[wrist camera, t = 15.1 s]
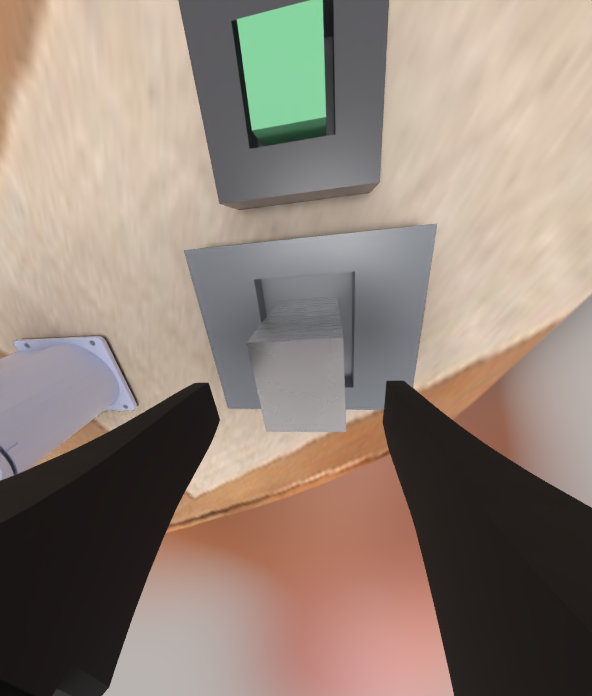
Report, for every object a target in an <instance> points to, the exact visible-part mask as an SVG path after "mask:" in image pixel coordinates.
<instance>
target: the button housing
mask: <svg viewBox="0 0 592 696" xmlns="http://www.w3.org/2000/svg"><path fill="white" fill-rule="evenodd" d="M178 1H179V6H180V11H181V15H182V20H183V25H184V30H185V35H186V40H187V45H188V50H189V55H190V60H191V65H192V70H193V75H194V80H195V85H196V90H197V95H198V99H199V104H200V109H201V114H202V119H203V124H204V129H205V134H206V139H207V144H208V149H209V154H210V159H211V164H212V169H213V174H214V179H215V184H216V188H217V193H218V198H219V203H220V204H222V205H225V206H229V207H232V208H235V209H239V210H240V209H248V208H256V207H263V206H271V205H279V204H287V203H294V202H302V201H310V200H318V199H326V198H333V197H341V196H349V195H357V194H364V193H370V192H371V191H372V190H373V189H374V188H375V187H376V186H377V185H378V184H379V183H380V167H381V148H382V128H383V108H384V88H385V69H386V49H387V29H388V10H389V0H323V27H324V62H325V96H326V136H321V137H316V138H310V139H304V140H298V141H292V142H286V143H280V144H274V145H268V146H263V145H262V144H261V142H260V141H259V140H258V138H257V137H256V136H255V134H254V133H253V131H252V128H251V120H250V113H249V106H248V98H247V91H246V83H245V76H244V69H243V61H242V54H241V46H240V39H239V32H238V24H237V19H240V18H244V17H247V16H251V15H255V14H259V13H263V12H267V11H270V10H274V9H278V8H282V7H286V6H290V5H293V4H297V3H301V2H305V1H309V0H178Z"/></svg>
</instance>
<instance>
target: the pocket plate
mask: <svg viewBox="0 0 592 696" xmlns="http://www.w3.org/2000/svg"><path fill="white" fill-rule="evenodd" d="M436 228H437V224H430V225H420V226H411V227H401V228H392V229H382V230H373V231H363V232H353V233H344V234H334V235H325V236H315V237H306V238H296V239H287V240H277V241H268V242H258V243H249V244H239V245H230V246H220V247H211V248H201V249H192V250H184V252H185V256H186V260H187V263H188V267H189V270H190V274H191V278H192V281H193V285H194V288H195V292H196V295H197V299H198V303H199V306H200V310H201V313H202V317H203V320H204V324H205V328H206V331H207V335H208V338H209V342H210V345H211V349H212V353H213V356H214V360H215V363H216V367H217V370H218V374H219V378H220V381H221V385H222V388H223V392H224V395H225V399H226V403H227V406H228V408H231V409H261V405H260V400H259V396H258V391H257V387H256V383H255V378H254V374H253V369H252V365H251V361H250V356H249V352H248V347H247V342H248V340H249V339H250V338H251V336H252V335H253V334H254V332H255V331H256V330H257V328H258V327H259V326H260V324H261V323H262V322H263V320H264V319H265V318H266V317H267V315H268V314H269V313H270V311H271V310H272V309H273V307H274V306H275V305H276V303H277V302H278V301H283V300H295V299H306V298H318V297H330V296H337V300H338V307H339V313H340V320H341V326H342V333H343V345H344V378H345V409H358V410H384V403H385V392H386V381H405V382H406V383H407V384H409V385H410V386H411V387H412V388H413V383H414V377H415V370H416V363H417V356H418V350H419V343H420V336H421V329H422V323H423V316H424V309H425V303H426V296H427V289H428V282H429V276H430V269H431V262H432V255H433V249H434V242H435V235H436Z"/></svg>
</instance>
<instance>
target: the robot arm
mask: <svg viewBox="0 0 592 696" xmlns="http://www.w3.org/2000/svg"><path fill="white" fill-rule="evenodd" d="M13 344H14V346H15V348H16V349H17V351H18V352H16V353H14V354H11V355H8V356H6V357H3V358H0V696H102V695H103V694H104V693H105V691H106V690H107V689H108V688H109V686H110V683H111V680H112V677H113V674H114V670H115V667H116V664H117V661H118V658H119V655H120V653H121V650H122V647H123V644H124V641H125V638H126V635H127V632H128V629H129V626H130V623H131V620H132V617H133V615H134V612H135V609H136V607H137V604H138V601H139V599H140V596H141V593H142V591H143V588H144V585H145V583H146V580H147V577H148V574H149V572H150V570H151V567H152V565H153V562H154V560H155V557H156V555H157V552H158V550H159V547H160V545H161V542H162V540H163V537H164V535H165V533H166V531H167V528H168V526H169V524H170V522H171V519H172V517H173V515H174V512H175V510H176V508H177V506H178V504H179V502H180V500H181V498H182V496H183V494H184V492H185V491H186V489H187V487H188V485H189V483H190V481H191V480H192V478H193V476H194V474H195V472H196V470H197V469H198V467H199V465H200V463H201V461H202V459H203V458H204V456H205V454H206V452H207V450H208V448H209V446H210V444H211V442H212V440H213V437H214V435H215V432H216V430H217V427H218V424H219V421H220V418H219V415H218V412H217V409H216V405H215V402H214V399H213V396H212V392H211V389H210V386H209V383H194V384H192V385H190V386H188V387H186V388H184V389H183V390H181V391H179V392H177V393H176V394H174V395H172V396H171V397H169V398H167V399H165V400H164V401H162V402H160V403H159V404H157V405H155V406H154V407H152V408H150V409H149V410H147V411H145V412H144V413H142V414H140V415H138V416H137V417H135V418H133V419H131V420H129V421H128V422H126V423H124V424H122V425H121V426H119V427H117V428H115V429H113V430H112V431H110V432H108V433H106V434H104V435H102V436H100V437H98V438H96V439H94V440H92V441H90V442H88V443H86V444H84V445H82V446H80V447H78V448H76V449H74V450H71V451H69V452H67V453H65V454H63V455H60V456H58V457H56V458H53V459H51V460H49V461H47V462H44V463H42V464H40V465H37V466H35V467H33V466H34V465H36V464H37V463H38V462H40V461H41V460H42V459H43V458H45V457H46V456H47V455H48V454H50V453H51V452H52V451H54V450H55V449H56V448H57V447H59V446H60V445H61V444H62V443H64V442H65V441H66V440H68V439H69V438H70V437H71V436H73V435H74V434H75V433H76V432H78V431H79V430H80V429H82V428H83V427H84V426H85V425H87V424H88V423H89V422H90V421H92V420H93V419H94V418H96V417H97V416H98V415H99V414H101V413H102V412H103V411H104V410H134V409H136V408H137V403H136V401H135V399H134V397H133V395H132V393H131V391H130V389H129V387H128V385H127V383H126V381H125V379H124V377H123V375H122V373H121V371H120V369H119V367H118V365H117V363H116V360H115V358H114V356H113V354H112V352H111V350H110V348H109V346H108V344H107V342H106V340H105V339H104V338H103V337H101V336H87V337H65V338H44V339H22V340H17V341H14V343H13ZM383 426H384V430H385V435H386V440H387V444H388V448H389V451H390V454H391V457H392V460H393V463H394V466H395V469H396V472H397V475H398V478H399V480H400V483H401V486H402V489H403V492H404V495H405V498H406V501H407V503H408V507H409V509H410V512H411V516H412V519H413V522H414V526H415V529H416V533H417V537H418V541H419V545H420V549H421V553H422V557H423V561H424V565H425V569H426V573H427V577H428V581H429V586H430V590H431V594H432V598H433V602H434V606H435V610H436V615H437V620H438V624H439V628H440V633H441V637H442V642H443V646H444V650H445V655H446V660H447V664H448V668H449V673H450V677H451V683H452V687H453V692H454V696H592V508H591V507H589V506H588V505H585V504H584V503H582V502H581V501H579V500H577V499H575V498H573V497H572V496H570V495H568V494H566V493H565V492H563V491H561V490H559V489H558V488H556V487H554V486H552V485H550V484H549V483H547V482H545V481H543V480H542V479H540V478H539V477H537V476H535V475H533V474H532V473H530V472H528V471H527V470H525V469H523V468H522V467H520V466H519V465H517V464H516V463H514V462H513V461H511V460H509V459H508V458H506V457H505V456H503V455H501V454H500V453H498V452H497V451H495V450H494V449H492V448H491V447H489V446H488V445H486V444H485V443H483V442H482V441H480V440H479V439H478V438H476V437H475V436H473V435H472V434H471V433H469V432H468V431H466V430H465V429H464V428H462V427H461V426H460V425H458V424H457V423H456V422H454V421H453V420H452V419H450V418H449V417H448V416H446V415H445V414H444V413H443V412H441V411H440V410H439V409H438V408H436V407H435V406H434V405H433V404H431V403H430V402H429V401H428V400H427V399H425V398H424V397H423V396H422V395H421V394H419V393H418V392H417V391H416V390H415V389H413V388H412V387H411V386H410V385H409V384H407V383H406V382H405V381H386V392H385V403H384V415H383ZM32 467H33V468H32Z"/></svg>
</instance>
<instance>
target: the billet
mask: <svg viewBox="0 0 592 696" xmlns="http://www.w3.org/2000/svg"><path fill="white" fill-rule="evenodd" d="M247 347H248V352H249V356H250V361H251V365H252V369H253V374H254V378H255V383H256V387H257V391H258V396H259V400H260V405H261V409H262V413H263V418H264V422H265V427H266V431H273V432H346V412H345V378H344V345H343V333H342V326H341V320H340V313H339V307H338V300H337V296H330V297H318V298H306V299H295V300H283V301H278V302H277V303H276V305H275V306H274V307H273V309H272V310H271V311H270V313H269V314H268V315H267V317H266V318H265V319H264V320H263V322H262V323H261V324H260V326H259V327H258V328H257V330H256V331H255V332H254V334H253V335H252V336H251V338H250V339H249V340H248V342H247Z"/></svg>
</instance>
